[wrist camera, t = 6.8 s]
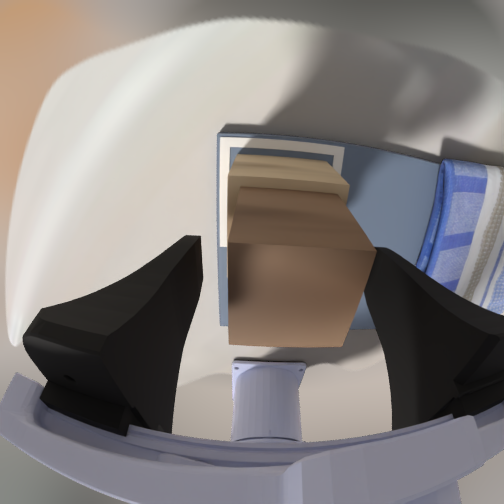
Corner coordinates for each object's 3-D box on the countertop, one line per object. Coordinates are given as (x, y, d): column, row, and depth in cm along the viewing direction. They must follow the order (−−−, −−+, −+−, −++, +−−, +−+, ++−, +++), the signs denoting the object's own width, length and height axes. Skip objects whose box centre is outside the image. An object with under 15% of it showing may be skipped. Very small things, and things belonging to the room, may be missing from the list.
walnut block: (321, 273, 14) (341, 346, 10) (238, 268, 14) (228, 344, 10) (337, 194, 12) (376, 251, 8) (240, 186, 12) (227, 242, 8)
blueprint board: (384, 322, 24) (386, 328, 23) (221, 319, 24) (219, 326, 23) (438, 163, 16) (445, 166, 15) (219, 132, 16) (216, 134, 15)
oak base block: (314, 238, 19) (328, 282, 14) (235, 233, 19) (227, 277, 14) (326, 161, 16) (349, 185, 12) (237, 154, 16) (227, 175, 12)
